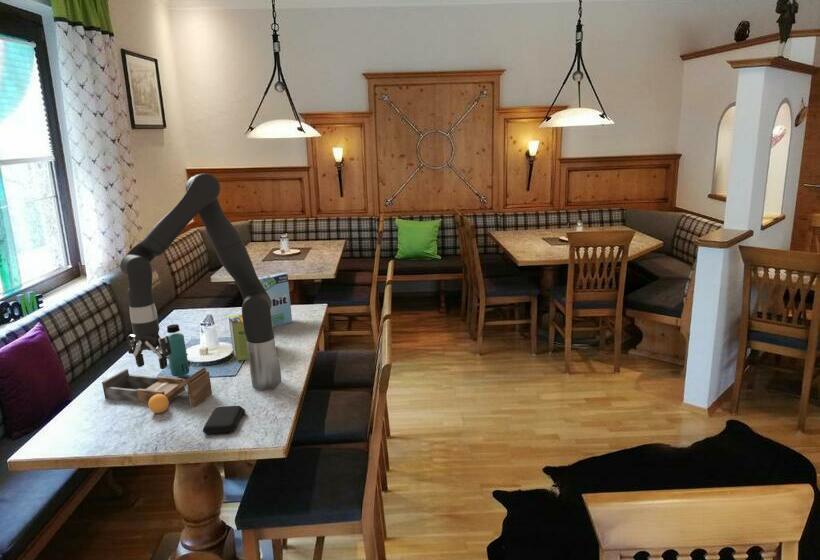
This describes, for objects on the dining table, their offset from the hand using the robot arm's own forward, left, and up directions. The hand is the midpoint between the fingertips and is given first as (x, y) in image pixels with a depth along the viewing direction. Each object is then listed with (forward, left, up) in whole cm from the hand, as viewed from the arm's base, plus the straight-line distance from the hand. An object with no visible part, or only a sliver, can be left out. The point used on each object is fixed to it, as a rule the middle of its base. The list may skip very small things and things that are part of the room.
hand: (152, 367), depth 183 cm
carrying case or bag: (-26, +2, -16) cm, 30 cm away
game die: (+22, -37, -16) cm, 46 cm away
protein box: (-4, -51, -16) cm, 54 cm away
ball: (0, 0, -13) cm, 13 cm away
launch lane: (+8, -10, -16) cm, 20 cm away
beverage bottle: (+11, -25, -16) cm, 31 cm away
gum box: (+6, -82, -16) cm, 84 cm away
